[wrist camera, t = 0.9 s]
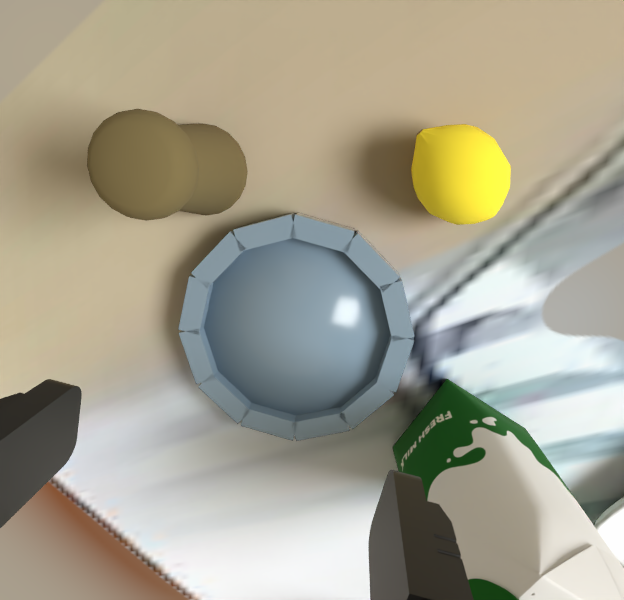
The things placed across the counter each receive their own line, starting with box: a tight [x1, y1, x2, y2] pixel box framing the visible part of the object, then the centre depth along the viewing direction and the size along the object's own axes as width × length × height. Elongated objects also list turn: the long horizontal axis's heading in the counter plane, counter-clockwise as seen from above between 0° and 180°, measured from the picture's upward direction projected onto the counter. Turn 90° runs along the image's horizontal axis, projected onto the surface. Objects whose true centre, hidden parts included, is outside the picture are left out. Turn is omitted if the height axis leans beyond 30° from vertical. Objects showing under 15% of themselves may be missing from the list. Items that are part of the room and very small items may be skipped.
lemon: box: [411, 124, 511, 225], centre depth 28 cm, size 7×5×5 cm
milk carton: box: [393, 379, 624, 600], centre depth 25 cm, size 9×9×20 cm
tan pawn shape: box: [87, 109, 247, 220], centre depth 26 cm, size 6×6×11 cm
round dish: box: [179, 213, 414, 441], centre depth 33 cm, size 16×16×2 cm
